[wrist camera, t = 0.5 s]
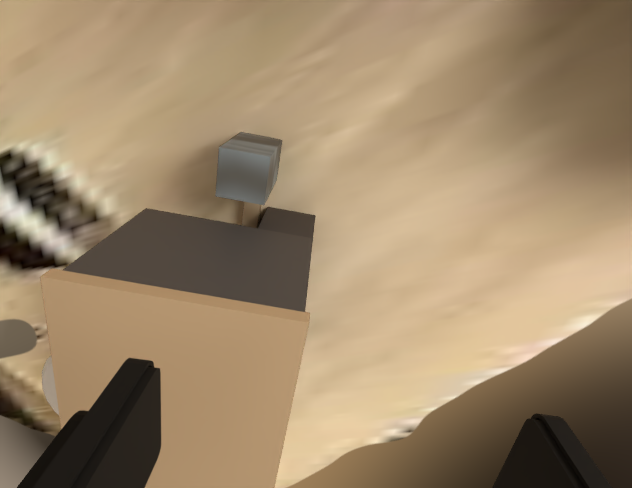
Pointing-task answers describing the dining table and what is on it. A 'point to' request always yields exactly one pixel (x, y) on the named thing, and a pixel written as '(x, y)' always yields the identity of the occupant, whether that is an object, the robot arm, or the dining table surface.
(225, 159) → the grey block with handle
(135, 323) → the cabinet
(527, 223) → the dining table surface
